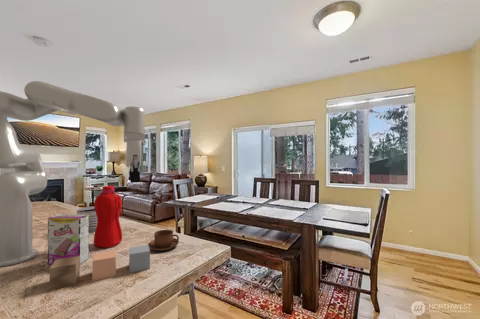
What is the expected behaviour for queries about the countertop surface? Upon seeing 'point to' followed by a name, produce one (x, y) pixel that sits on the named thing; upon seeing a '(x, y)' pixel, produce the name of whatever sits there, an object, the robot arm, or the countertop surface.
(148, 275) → the countertop surface
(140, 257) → the slate grey block
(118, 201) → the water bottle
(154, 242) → the cup and saucer
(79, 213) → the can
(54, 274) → the walnut block
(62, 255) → the candy bar box
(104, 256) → the terracotta block
